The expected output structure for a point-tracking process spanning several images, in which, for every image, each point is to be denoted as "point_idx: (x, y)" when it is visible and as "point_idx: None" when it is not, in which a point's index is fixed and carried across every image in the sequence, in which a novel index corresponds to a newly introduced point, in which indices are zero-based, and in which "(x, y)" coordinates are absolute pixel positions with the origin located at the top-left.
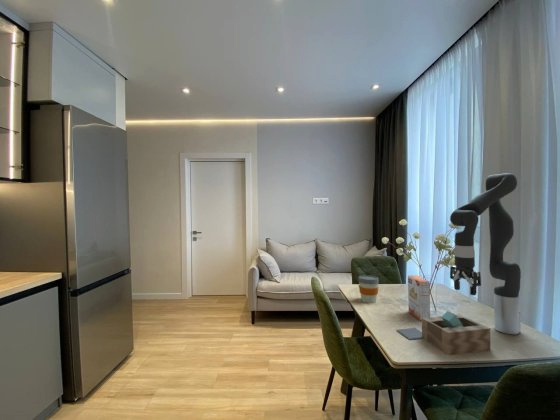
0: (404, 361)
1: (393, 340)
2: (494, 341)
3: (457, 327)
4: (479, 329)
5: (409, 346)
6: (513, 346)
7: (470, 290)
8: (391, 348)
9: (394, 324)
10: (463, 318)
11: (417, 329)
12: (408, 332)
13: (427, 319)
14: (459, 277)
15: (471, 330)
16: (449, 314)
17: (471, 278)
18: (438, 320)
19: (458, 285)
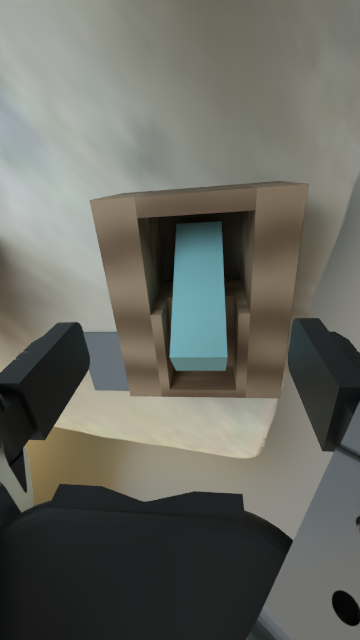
0: (259, 448)
1: (156, 421)
2: (217, 77)
3: (247, 336)
4: (298, 257)
5: (195, 406)
6: (287, 8)
7: (307, 401)
8: (197, 442)
9: None
10: (142, 217)
11: (93, 335)
12: (116, 371)
13: (146, 386)
14: (15, 494)
15: (292, 302)
16: (199, 362)
17: (307, 524)
18: (162, 357)
19: (60, 365)
